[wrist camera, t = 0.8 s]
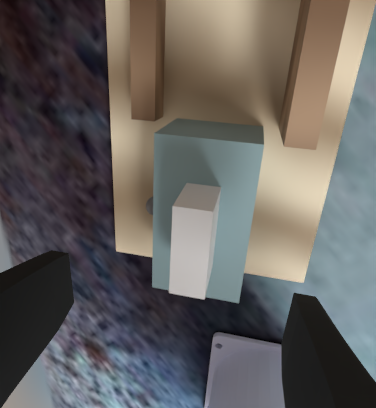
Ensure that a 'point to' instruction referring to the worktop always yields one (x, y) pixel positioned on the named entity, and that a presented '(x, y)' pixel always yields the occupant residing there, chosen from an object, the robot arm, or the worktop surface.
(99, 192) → the worktop surface
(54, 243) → the worktop surface
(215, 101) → the cleat board
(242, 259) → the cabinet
